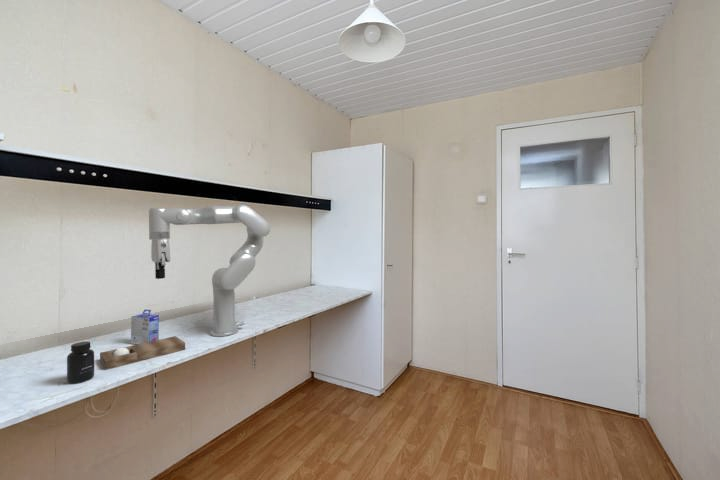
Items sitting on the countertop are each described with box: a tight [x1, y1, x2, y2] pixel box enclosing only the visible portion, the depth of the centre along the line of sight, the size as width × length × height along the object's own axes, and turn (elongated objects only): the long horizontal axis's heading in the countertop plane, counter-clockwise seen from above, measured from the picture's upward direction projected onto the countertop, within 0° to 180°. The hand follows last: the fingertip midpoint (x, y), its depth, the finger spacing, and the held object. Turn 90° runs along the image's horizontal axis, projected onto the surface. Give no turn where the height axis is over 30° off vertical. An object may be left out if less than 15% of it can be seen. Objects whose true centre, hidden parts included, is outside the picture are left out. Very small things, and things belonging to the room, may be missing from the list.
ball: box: [113, 347, 129, 357], centre depth 119 cm, size 5×5×5 cm
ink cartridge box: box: [130, 309, 160, 345], centre depth 138 cm, size 10×6×14 cm, turn 78°
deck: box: [99, 335, 186, 371], centre depth 125 cm, size 26×12×3 cm, turn 138°
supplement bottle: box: [66, 341, 95, 385], centre depth 104 cm, size 7×7×12 cm
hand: (160, 278), depth 135 cm, fingers closed
